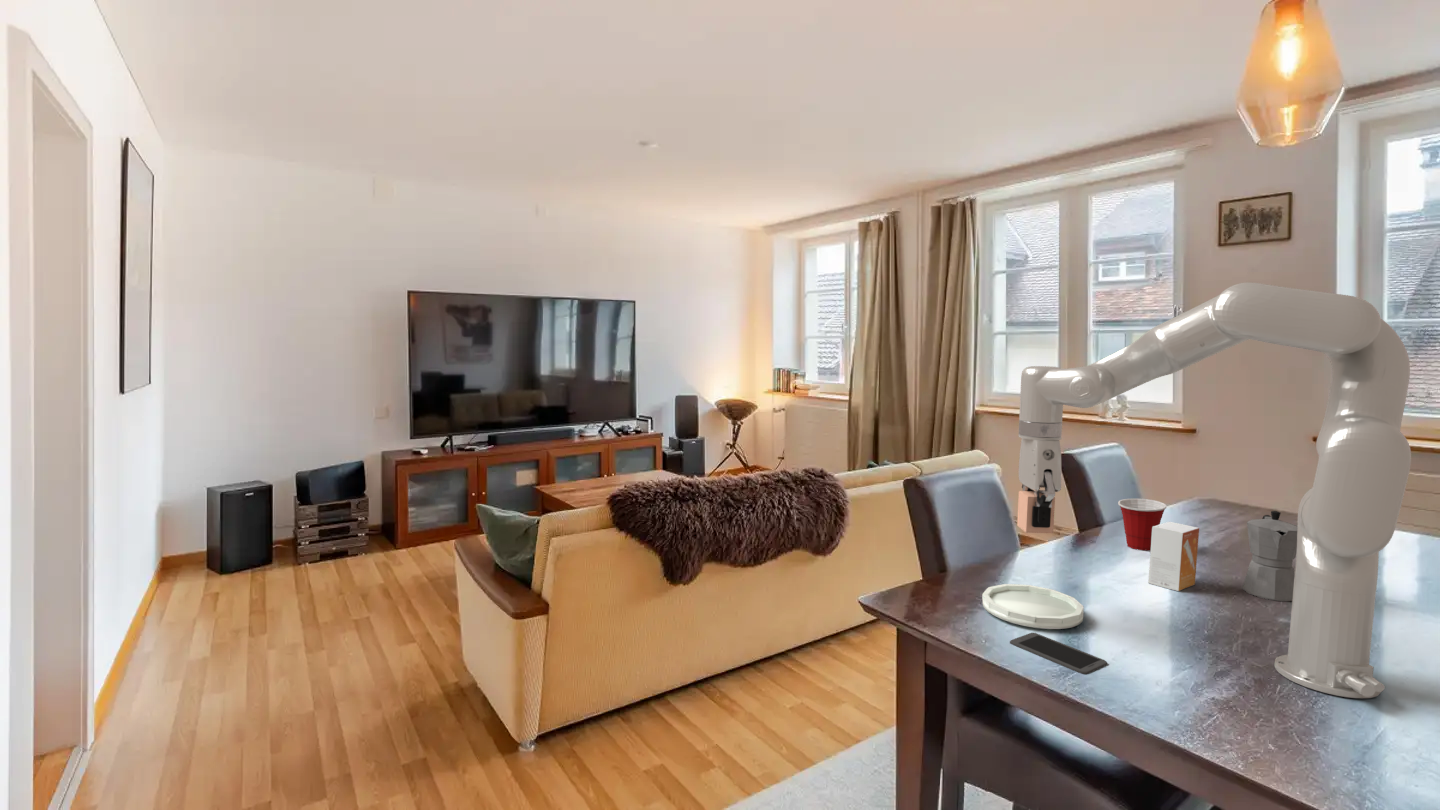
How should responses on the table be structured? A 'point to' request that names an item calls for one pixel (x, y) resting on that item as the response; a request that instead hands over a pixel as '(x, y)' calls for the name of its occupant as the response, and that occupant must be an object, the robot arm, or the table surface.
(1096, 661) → the cell phone
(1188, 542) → the small box
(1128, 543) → the plastic cup
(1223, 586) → the table surface
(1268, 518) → the coffeepot
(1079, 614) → the dish
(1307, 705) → the table surface
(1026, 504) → the block
